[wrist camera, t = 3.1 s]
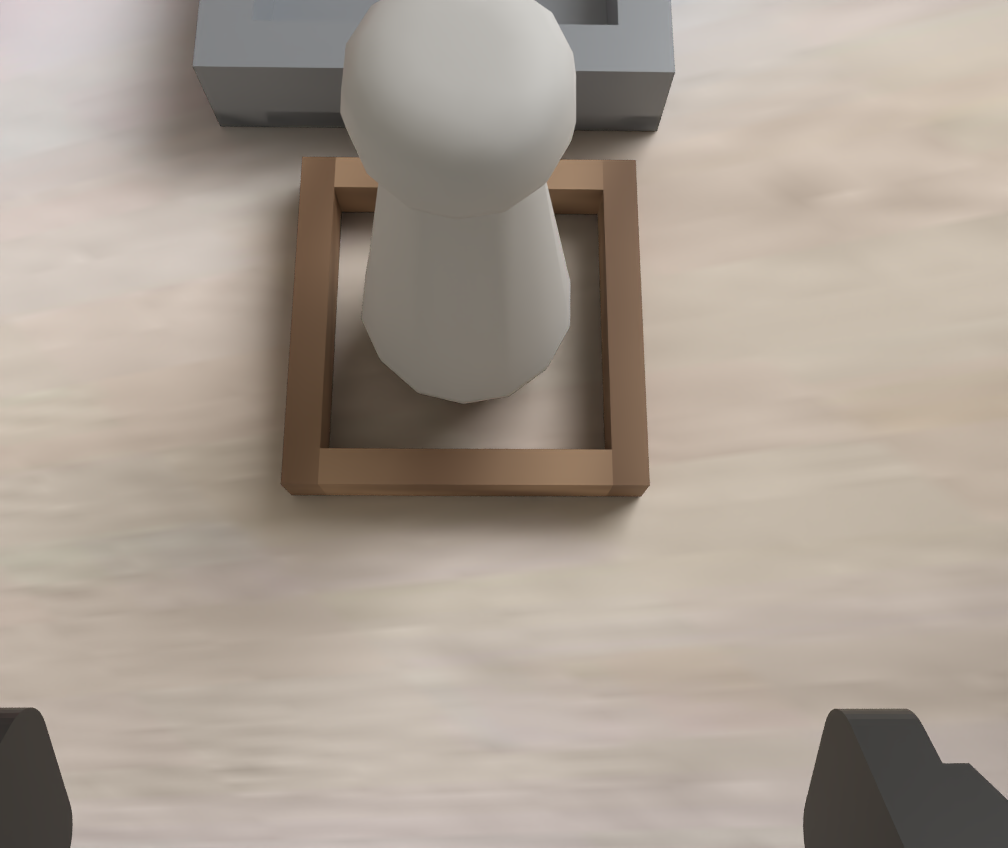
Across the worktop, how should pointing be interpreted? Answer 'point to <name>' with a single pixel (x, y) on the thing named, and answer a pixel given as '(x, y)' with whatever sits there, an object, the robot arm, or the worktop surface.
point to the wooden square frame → (466, 470)
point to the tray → (339, 10)
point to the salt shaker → (462, 189)
